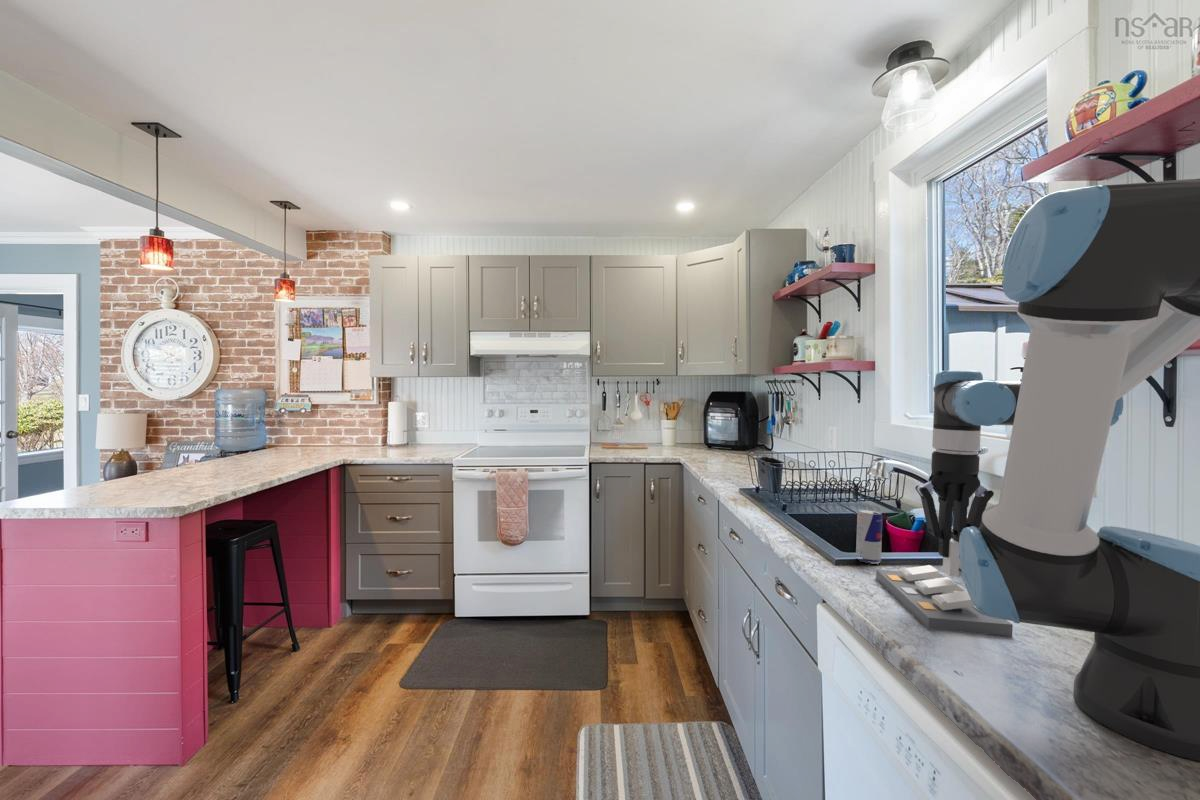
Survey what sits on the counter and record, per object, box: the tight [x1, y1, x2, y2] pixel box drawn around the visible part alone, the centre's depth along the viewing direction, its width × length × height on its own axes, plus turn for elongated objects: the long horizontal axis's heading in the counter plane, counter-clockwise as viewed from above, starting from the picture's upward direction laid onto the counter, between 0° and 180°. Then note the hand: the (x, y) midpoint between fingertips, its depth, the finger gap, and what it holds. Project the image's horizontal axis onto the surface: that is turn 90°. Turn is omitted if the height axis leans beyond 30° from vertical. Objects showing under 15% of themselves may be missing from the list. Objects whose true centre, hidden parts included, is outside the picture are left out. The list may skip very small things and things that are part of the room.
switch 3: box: [932, 590, 975, 610], centre depth 93 cm, size 4×6×1 cm, turn 81°
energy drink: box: [855, 508, 883, 565], centre depth 124 cm, size 5×5×12 cm
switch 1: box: [899, 564, 940, 581], centre depth 107 cm, size 4×6×1 cm, turn 81°
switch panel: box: [875, 569, 1014, 637], centre depth 100 cm, size 24×13×2 cm, turn 171°
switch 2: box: [915, 576, 959, 595], centre depth 100 cm, size 4×6×1 cm, turn 81°
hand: (950, 573), depth 100 cm, fingers closed
